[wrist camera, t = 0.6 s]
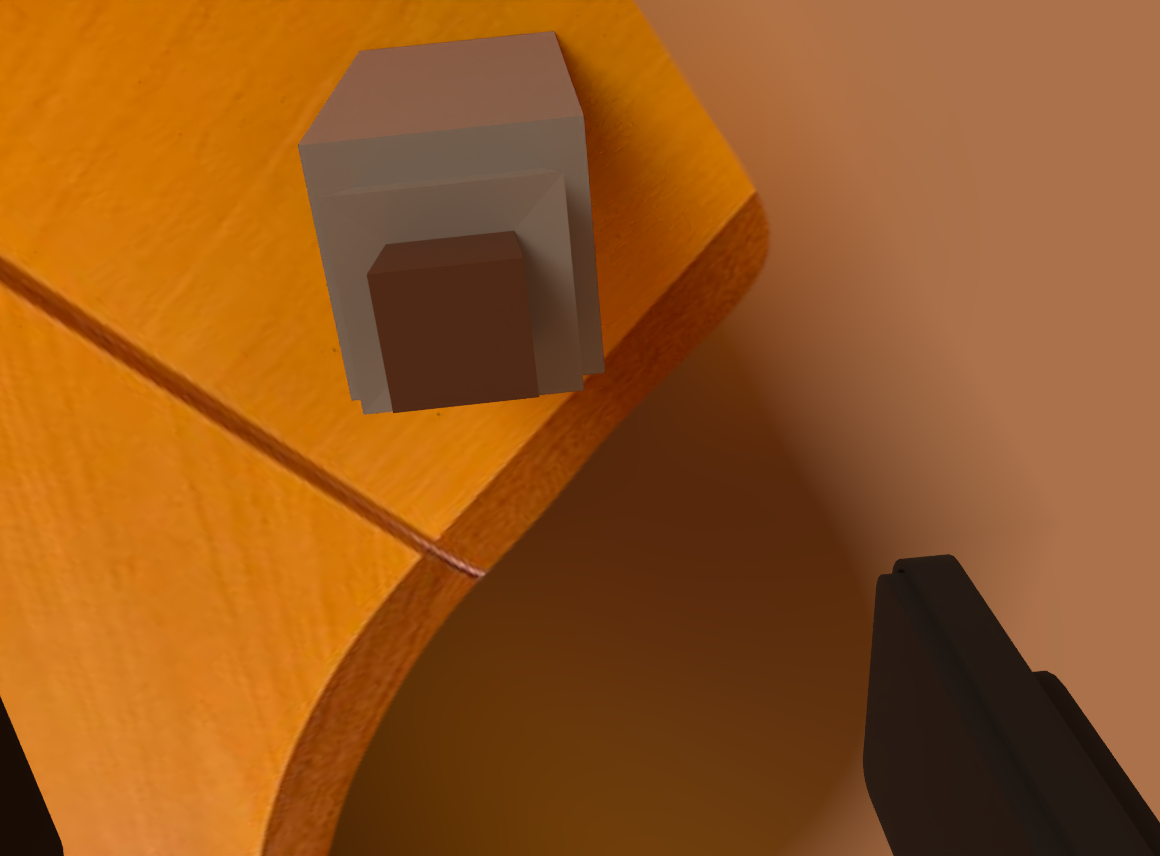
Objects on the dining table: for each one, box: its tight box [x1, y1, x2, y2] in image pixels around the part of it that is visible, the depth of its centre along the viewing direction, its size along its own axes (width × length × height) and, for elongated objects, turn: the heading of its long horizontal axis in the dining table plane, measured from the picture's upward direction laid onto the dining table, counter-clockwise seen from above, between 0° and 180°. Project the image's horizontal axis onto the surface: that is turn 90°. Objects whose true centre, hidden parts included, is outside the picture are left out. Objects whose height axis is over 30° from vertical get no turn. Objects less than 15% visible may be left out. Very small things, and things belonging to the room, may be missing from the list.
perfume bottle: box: [298, 31, 605, 414], centre depth 31 cm, size 7×7×18 cm
